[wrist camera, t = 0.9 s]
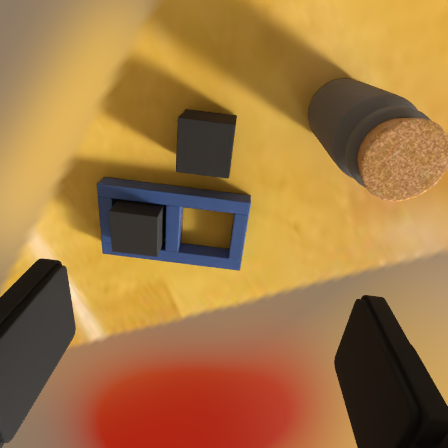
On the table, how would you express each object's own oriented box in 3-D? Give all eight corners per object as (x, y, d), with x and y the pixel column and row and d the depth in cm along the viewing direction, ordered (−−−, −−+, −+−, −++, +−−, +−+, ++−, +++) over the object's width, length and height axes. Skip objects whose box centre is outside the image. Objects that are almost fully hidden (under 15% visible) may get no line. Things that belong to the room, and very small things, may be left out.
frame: (103, 176, 36) (96, 183, 34) (250, 194, 36) (250, 202, 34) (108, 244, 40) (102, 253, 38) (240, 260, 40) (239, 270, 38)
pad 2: (185, 109, 32) (177, 117, 28) (236, 115, 32) (235, 124, 28) (183, 158, 34) (175, 172, 31) (230, 164, 34) (228, 178, 31)
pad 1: (121, 194, 37) (108, 210, 33) (166, 200, 37) (157, 216, 33) (123, 232, 39) (111, 251, 36) (165, 238, 39) (157, 257, 36)
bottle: (329, 154, 33) (383, 228, 20) (294, 108, 31) (329, 157, 18) (383, 114, 31) (482, 168, 18) (349, 62, 29) (433, 80, 16)
